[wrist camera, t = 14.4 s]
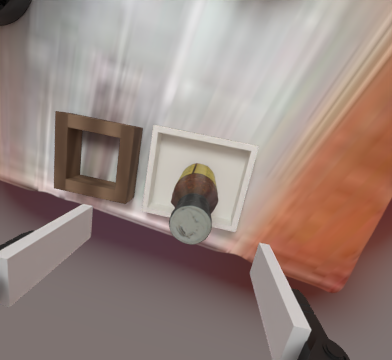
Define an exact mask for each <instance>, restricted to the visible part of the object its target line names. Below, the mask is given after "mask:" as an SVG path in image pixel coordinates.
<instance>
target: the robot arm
mask: <svg viewBox="0 0 392 360" xmlns="http://www.w3.org/2000/svg"><path fill="white" fill-rule="evenodd" d="M29 3H30V0H0V25H5V24H9V23H12V22H14V21H16V20H17V19H18V18H19V17H21V16H22V15H23V13H24V12H25V11H26V9H27V7H28V5H29ZM92 209H93V206H90V205H86V204H83V205H81V206H79V207H77V208H76V209H74V210H72V211H70V212H68V213H66V214H65V215H63V216H61V217H59V218H57V219H56V220H54V221H52V222H51V223H49V224H47V225H45V226H43V227H42V228H40V229H38V230H36V231H29V232H26V233H23V234H21V235H19V236H17V237H15V238H13V240H9V241H7V242H6V243H5V244H2V245H0V305H4V306H8V307H10V306H11V305H12V304H14V303H15V302H16V301H17V300H18V299H19V298H21V297H22V296H23V295H24V294H25V293H26V292H27V291H29V290H30V289H31V288H32V287H33V286H35V285H36V284H37V283H38V282H39V281H40V280H41V279H43V278H44V277H45V276H46V275H47V274H48V273H49V272H51V271H52V270H53V269H54V268H55V267H57V266H58V265H59V264H60V263H61V262H62V261H63V260H65V259H66V258H67V257H68V256H69V255H70V254H72V253H73V252H74V251H75V250H76V249H77V248H79V247H80V246H81V245H82V244H83V243H84V242H85V241H87V240H88V239H89V238H90V237H91V225H92V211H93V210H92ZM250 275H251V279H252V283H253V287H254V291H255V295H256V299H257V303H258V306H259V310H260V314H261V318H262V322H263V326H264V329H265V333H266V337H267V341H268V345H269V348H270V353H271V356H272V360H350V359H349V357H348V355H347V354H346V353H345V352H344V350H343V349H342V348H341V347H340V346H338V345H337V344H336V343H335V342H333V341H331V340H330V339H328V337H327V335H326V333H325V332H324V330H323V328H322V326H321V324H320V323H319V321H318V319H317V317H316V315H314V312H313V310H312V308H311V307H310V305H309V303H308V301H307V299H306V298H305V297H304V295H303V294H302V293H301V292H300V291H299V290H296V289H292V288H290V286H289V284H288V282H287V280H286V278H285V276H284V274H283V272H282V270H281V268H280V266H279V264H278V262H277V259H276V257H275V255H274V253H273V251H272V249H271V247H270V245H267V244H263V243H259V245H258V248H257V252H256V255H255V258H254V261H253V264H252V268H251V271H250Z"/></svg>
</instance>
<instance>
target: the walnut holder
mask: <svg viewBox="0 0 392 360" xmlns="http://www.w3.org/2000/svg"><path fill="white" fill-rule="evenodd" d="M82 130H84V131H89V132H94V133H99V134H104V135H108V136H113V137H118V138H120V146H119V156H118V166H117V175H116V183H115V182H111V181H106V180H101V179H97V178H92V177H88V176H83V175H80V164H81V145H82ZM142 130H143V128H141V127H136V126H131V125H126V124H121V123H116V122H111V121H107V120H102V119H97V118H92V117H87V116H82V115H77V114H72V113H66V112H59V111H56V115H55V161H54V188H56V189H60V190H65V191H69V192H74V193H78V194H83V195H87V196H92V197H96V198H101V199H106V200H110V201H115V202H119V203H124V204H126V203H127V202H129V201H130V200H131V199H132V198H134V193H135V185H136V177H137V170H138V162H139V154H140V146H141V138H142Z"/></svg>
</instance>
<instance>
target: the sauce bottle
mask: <svg viewBox="0 0 392 360" xmlns="http://www.w3.org/2000/svg"><path fill="white" fill-rule="evenodd" d="M171 204H172V205H173V206H174V207H175V209H174V210H173V211H172V213H171V216H170V221H169V227H170V230H171V233H172V235H173V236H174V237H175V238H176V239H178V240H179V241H181V242H183V243H186V244H197V243H200V242H202V241H203V240H205V239H206V238H207V237H208V235H209V233H210V231H211V227H212V218H211V213H212V212H213V211H214V209H215V207H216V206H217V204H218V192H217V187H216V181H215V176H214V173H213V172H212V170H211V169H210V168H209V167H208V166H206V165H204V164H198V163H195V164H192V165H190V166H188V167H187V168H186V169H185V170H184V171H183V173H182V175H181V176H180V178H179V180H178V182H177V183H176V185H175V188H174V191H173V193H172V199H171Z"/></svg>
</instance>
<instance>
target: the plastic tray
mask: <svg viewBox="0 0 392 360" xmlns="http://www.w3.org/2000/svg"><path fill="white" fill-rule="evenodd" d="M258 148H259V146H256V145H252V144H247V143H242V142H237V141H232V140H227V139H222V138H217V137H212V136H207V135H202V134H198V133H193V132H188V131H183V130H178V129H173V128H168V127H163V126H158V125H153V132H152V139H151V146H150V153H149V161H148V168H147V175H146V182H145V189H144V197H143V204H142V212H147V213H151V214H156V215H160V216H165V217H169V218H170V216H171V213H172V211H173V210H174V209H175V207H174V206H173V205H172V204H171V199H172V193H173V191H174V188H175V185H176V183H177V182H178V180H179V178H180V176H181V175H182V173H183V171H184V170H185V169H186V168H187V167H188V166H190V165H192V164H195V163H198V164H204V165H206V166H208V167H209V168H210V169H211V170H212V172H213V173H214V176H215V181H216V187H217V192H218V204H217V206H216V207H215V209H214V211H213V212H212V213H211V218H212V227H214V228H219V229H223V230H228V231H232V232H236V229H237V225H238V221H239V218H240V214H241V210H242V207H243V203H244V199H245V196H246V192H247V188H248V185H249V181H250V177H251V174H252V170H253V166H254V163H255V159H256V155H257V152H258Z"/></svg>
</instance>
